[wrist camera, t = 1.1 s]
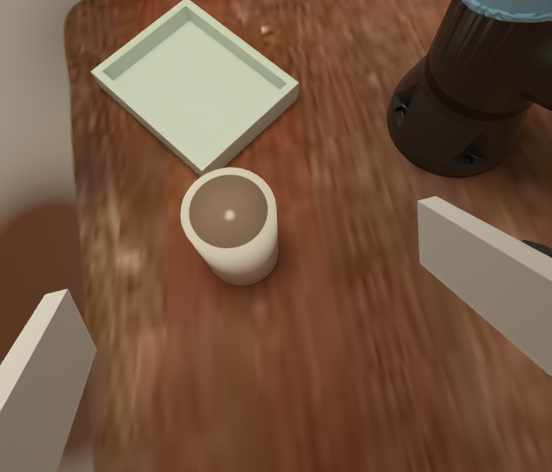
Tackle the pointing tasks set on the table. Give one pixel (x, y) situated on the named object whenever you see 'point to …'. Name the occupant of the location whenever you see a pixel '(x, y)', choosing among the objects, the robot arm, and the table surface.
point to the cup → (233, 224)
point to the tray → (197, 87)
